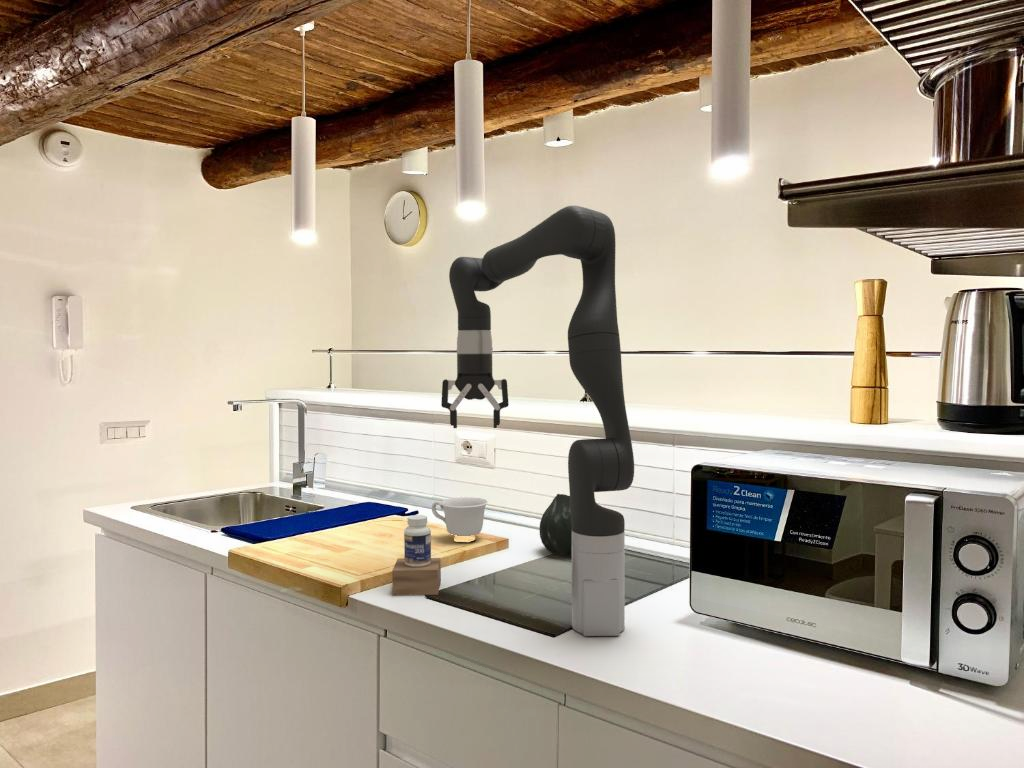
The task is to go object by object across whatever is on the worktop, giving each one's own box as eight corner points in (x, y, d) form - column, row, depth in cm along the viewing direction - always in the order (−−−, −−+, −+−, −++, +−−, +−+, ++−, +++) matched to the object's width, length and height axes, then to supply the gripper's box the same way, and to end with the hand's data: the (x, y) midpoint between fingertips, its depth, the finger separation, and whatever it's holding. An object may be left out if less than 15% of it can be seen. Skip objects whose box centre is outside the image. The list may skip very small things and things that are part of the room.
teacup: (441, 532, 209) (441, 495, 208) (494, 536, 204) (494, 498, 204) (422, 543, 197) (422, 504, 197) (478, 548, 193) (478, 507, 192)
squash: (622, 530, 187) (586, 479, 192) (587, 545, 175) (549, 491, 181) (586, 561, 194) (552, 512, 200) (550, 578, 183) (515, 524, 188)
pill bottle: (400, 566, 159) (400, 519, 158) (410, 559, 164) (409, 513, 163) (425, 568, 157) (425, 520, 157) (434, 561, 163) (434, 514, 162)
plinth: (437, 594, 156) (437, 570, 156) (392, 595, 156) (392, 570, 156) (440, 581, 165) (440, 557, 165) (398, 581, 165) (397, 558, 165)
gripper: (439, 352, 163) (440, 430, 164) (508, 351, 163) (508, 429, 164) (442, 352, 170) (443, 426, 171) (507, 351, 171) (508, 425, 171)
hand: (475, 427), depth 168 cm, fingers open, 8 cm apart
